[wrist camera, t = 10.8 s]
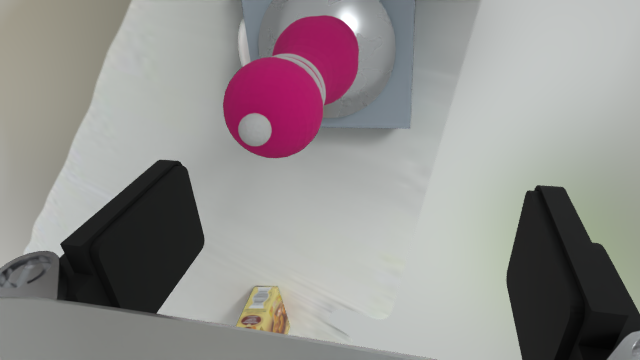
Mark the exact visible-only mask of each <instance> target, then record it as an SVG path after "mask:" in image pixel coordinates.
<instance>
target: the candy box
mask: <svg viewBox="0 0 640 360" xmlns="http://www.w3.org/2000/svg"><path fill="white" fill-rule="evenodd" d="M236 326H237V327H243V328H249V329H255V330H262V331H268V332H274V333H280V334H286V335H287V334H288V331H289V328H290V325H289V321H288V318H287V315H286V312H285V308H284V305H283V302H282V299H281V296H280V293H279V290H278V287H254V289H253V291H252V293H251V295H250V297H249V299H248V301H247V303H246V305H245V308H244V310H243V312H242V314H241V316H240V318H239V320H238V323H237V325H236Z"/></svg>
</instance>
